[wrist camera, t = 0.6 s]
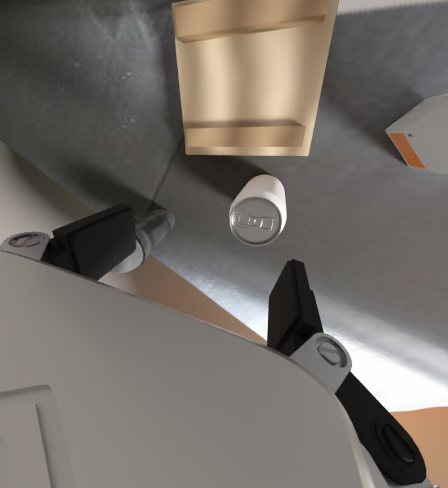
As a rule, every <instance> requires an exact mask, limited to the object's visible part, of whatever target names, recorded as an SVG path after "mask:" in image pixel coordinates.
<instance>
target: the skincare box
mask: <svg viewBox="0 0 448 488" xmlns="http://www.w3.org/2000/svg"><path fill="white" fill-rule="evenodd" d="M385 132H386V133H387V134H388V136H389V137H390V139H391V140H392V142H393V143H394V145H395V146H396V147H397V149H398V150H399V152H400V154H401V155H402V157H403V159H404V160H405V162H406V163H407V165H408V166H409V167H412V168H416V169H421V170H426V171H430V172H434V173H439V174H444V175H448V92H447V93H443V94H440V95H436V96H432V97H429V98H426V99H424V100H423V101H422V102H420V103H419V104H418V105H417V106H415V107H414V108H413V109H411V110H410V111H409V112H407V113H406V114H405V115H404V116H402V117H401V118H400V119H398V120H397V121H396V122H394V123H393V124H392V125H390V126H389V127H388V128H386V129H385Z"/></svg>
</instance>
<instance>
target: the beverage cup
mask: <svg viewBox="0 0 448 488" xmlns="http://www.w3.org/2000/svg"><path fill="white" fill-rule="evenodd" d="M174 225H175V219H174V216H173V215H172V213H171V212H169V211H168V210H166V209H158V210H155V211H152V212H149V213H147V214H144V215H142V216H139V217H137V218H135V230H136V250H135V251H134V252H133V253H132V254H131V255H130V256H128V257H127V258H126V259H124V260H123V261H122V262H121V263H119V264H118V265H117V266H115V267H114V268H113V269H112V270H110V271H109V272H112V273H124V272H128V271H130V270H133V269H134V268H136V267H138V266H140V265H142V264H143V262H144V261H145V259H146V258H147V256H148V254H149V253H150V252H151V251H152V250H153V249H154V248H155V247H156V245H157V244H158V243H159V242H160V241H161V240H162V239H163V238H164V237H165V236H166V235H167V234H168V233H169V232H170V230H171V229H172V228H173V227H174Z"/></svg>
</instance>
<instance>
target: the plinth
mask: <svg viewBox="0 0 448 488" xmlns="http://www.w3.org/2000/svg"><path fill="white" fill-rule="evenodd" d="M338 3H339V0H186V1H181V2H177V3H172V14H173V24H174V35H175V45H176V55H177V65H178V76H179V86H180V96H181V107H182V117H183V127H184V138H185V148H186V155H264V156H308V154H309V149H310V144H311V139H312V134H313V129H314V124H315V119H316V114H317V109H318V104H319V99H320V94H321V89H322V84H323V78H324V73H325V68H326V63H327V58H328V53H329V48H330V43H331V38H332V33H333V28H334V23H335V18H336V13H337V8H338Z"/></svg>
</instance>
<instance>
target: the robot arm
mask: <svg viewBox="0 0 448 488" xmlns="http://www.w3.org/2000/svg"><path fill="white" fill-rule="evenodd" d="M52 232H53V235H54V238H52V239H50V237H49V235H48V234H45V233H42V232H25V233H19V234H16V235H13V236H11V237H9V238H7V239H6V240H4V241H3V243H2V244H1V245H0V488H440V487H439V486H433V485H432V484H431V482H430V481H429V479H428V478H427V477H426V467H425V463H424V459H423V457H422V455H421V453H420V451H419V448H418V447H417V445H416V444H415V443H414V441H413V439H412V438H411V437H410V435H409V434H408V433H407V431H406V430H405V429H404V428H403V427H402V426H401V425H400V424H399V423H398V422H397V420H396V419H395V418H394V417H393V416H392V415H391V414H390V413H389V412H388V411H387V410H386V409H385V408H384V407H383V406H382V405H381V403H380V402H379V401H378V400H377V399H376V398H375V397H374V396H373V395H372V394H371V393H370V392H369V391H368V390H367V389H366V388H365V386H364V385H363V384H362V383H361V382H360V381H359V380H358V379H357V378H356V377H355V376H354V375H353V374H352V373H351V372H350V370H351V367H352V361H351V358H350V355H349V353H348V352H347V350H346V349H345V347H344V346H343V345H342V344H341V343H340V342H339V341H338V340H336V339H335V338H334V337H332V336H330V335H328V334H325V333H324V332H323V328H322V324H321V320H320V316H319V312H318V308H317V304H316V300H315V296H314V293H313V291H312V290H310V287H309V283H308V279H307V274H306V270H305V266H304V263H303V262H300V261H297V260H294V259H293V260H291V261H287V263H286V265H285V267H284V269H283V271H282V273H281V274H280V276H279V278H278V280H277V282H276V284H275V286H274V288H273V290H272V292H271V294H270V297H269V311H268V335H267V346H265V345H263V344H261V343H259V342H256V341H254V340H251V339H249V338H246V337H244V336H241V335H239V334H236V333H234V332H231V331H229V330H226V329H224V328H221V327H218V326H216V325H213V324H210V323H208V322H205V321H203V320H200V319H197V318H195V317H192V316H190V315H187V314H184V313H182V312H179V311H176V310H174V309H171V308H169V307H166V306H163V305H160V304H158V303H155V302H152V301H150V300H147V299H144V298H142V297H139V296H136V295H134V294H131V293H128V292H126V291H123V290H120V289H118V288H115V287H112V286H110V285H107V284H104V283H101V282H99V281H97V280H99V279H100V278H101V277H102V276H104V275H105V274H106V273H108V272H109V271H110V270H112V269H113V268H114V267H115V266H117V265H118V264H119V263H121V262H122V261H123V260H124V259H126V258H127V257H128V256H130V255H131V254H132V253H133V252H134V251H135V250H136V230H135V211H134V210H133V208H132V207H131V206H128V205H125V204H118V205H116V206H113V207H111V208H108V209H106V210H103V211H101V212H98V213H96V214H93V215H91V216H88V217H86V218H83V219H81V220H78V221H76V222H73V223H70V224H68V225H65V226H63V227H60V228H58V229H55V230H53V231H52Z"/></svg>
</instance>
